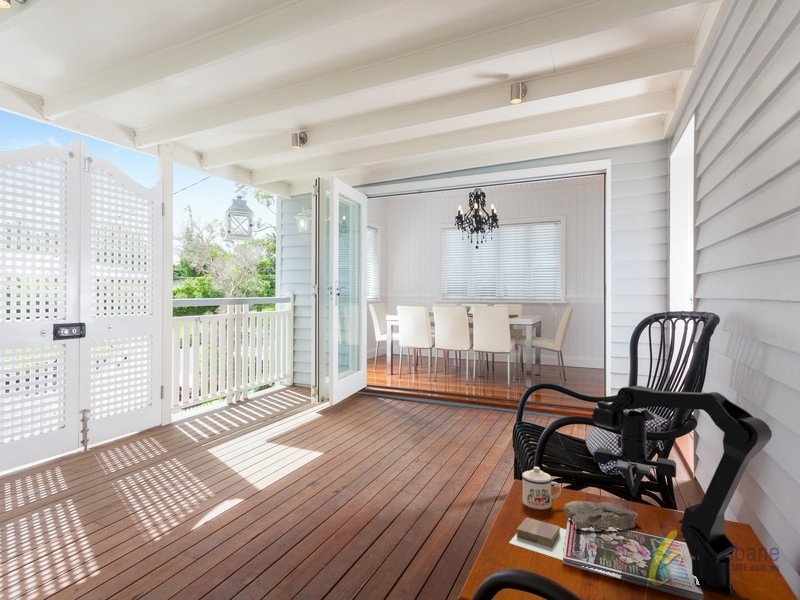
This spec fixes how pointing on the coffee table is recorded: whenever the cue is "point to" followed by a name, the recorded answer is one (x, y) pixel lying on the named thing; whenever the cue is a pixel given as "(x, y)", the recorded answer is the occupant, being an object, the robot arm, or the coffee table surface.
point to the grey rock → (599, 515)
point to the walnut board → (538, 532)
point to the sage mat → (551, 549)
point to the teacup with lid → (538, 489)
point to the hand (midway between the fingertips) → (633, 494)
